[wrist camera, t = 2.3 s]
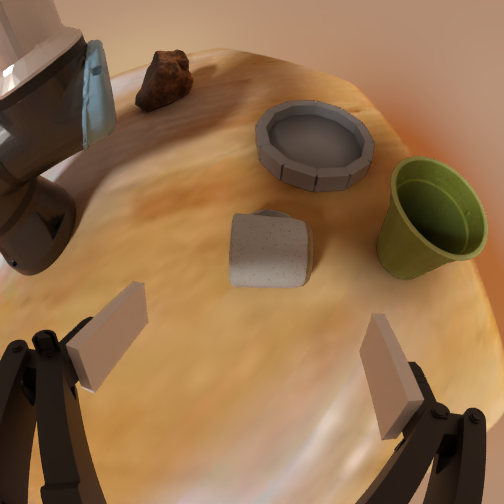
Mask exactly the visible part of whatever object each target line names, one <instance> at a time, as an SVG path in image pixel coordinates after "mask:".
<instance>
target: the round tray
mask: <svg viewBox="0 0 504 504" xmlns="http://www.w3.org/2000/svg"><path fill="white" fill-rule="evenodd" d="M255 133H256V146H257V151H258V156H259V161H260V163H261V164H262V165H264V166H265V167H266V168H267V169H268V170H269V171H270V172H271V173H272V174H273V175H274V176H275V177H276V178H278V179H279V180H282V182H284V183H287V184H290V185H293V186H296V187H299V188H302V189H305V190H308V191H311V192H312V191H315V192H326V191H341V190H345V189H348V188H349V187H351V186H352V185H354V184H355V183H357V182H358V181H359V180H361V179H362V178H364V177H365V175H366V174H367V171H368V169H369V167H370V164H371V162H372V157H373V151H374V146H375V143H374V140H373V138H372V137H371V135H370V133H369V131H368V130H367V128H366V126H365V124H363V122H361V121H360V120H359V119H357V118H356V117H354V116H353V115H351V114H350V113H349V112H347V111H346V110H344V109H342V110H341V108H340V107H337V106H333V105H330V104H327V103H323V102H320V101H316V102H315V100H300V101H290V102H289V101H287V102H284V103H282V104H279V105H277V106H275V107H272V108H270V109H268V111H267V110H266V111H265V113H264V114H263V116H262V117H261V118H260V120H259V121H258V123H257V124H256V127H255Z"/></svg>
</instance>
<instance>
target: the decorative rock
mask: <svg viewBox="0 0 504 504" xmlns="http://www.w3.org/2000/svg"><path fill="white" fill-rule="evenodd" d="M192 84H193V78H192V77H191V73H190V72H189V60H188V59H187V57H186V55H185V53H184V52H183V51H180V50H175V51H156V52H155V54H154V57H153V60H152V62H151V65H150V66H149V67H148V69H147V71H146V75H145V78H144V81H143V84H142V87H141V90H139V92H138V93H137V95H136V101H135V105H136V106H138V107H139V108H141V109H142V110H144V111H145V112H148V111H151V110H152V109H154V108H158V107H160V106H163V105H166V104H170V103H172V102H173V101H174V100H176V99H177V98H179V97H182V96H184V95H186V94H188V93H189V92H190V90H191V88H192Z"/></svg>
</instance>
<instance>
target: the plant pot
mask: <svg viewBox="0 0 504 504" xmlns="http://www.w3.org/2000/svg"><path fill="white" fill-rule="evenodd" d="M487 235H488V224H487V218H486V214H485V211H484V208H483V206H482V203H481V201H480V199H479V198H478V196H477V194H476V193H475V191H474V189H473V188H472V187H471V186H470V184H469V183H468V182H467V181H466V180H465V179H464V178H463V177H462V176H461V175H460V174H459V173H458V172H456V171H455V170H454V169H452V168H451V167H449V166H448V165H446V164H444V163H442V162H440V161H438V160H435V159H432V158H428V157H423V156H417V157H409V158H406V159H404V160H402V161H401V162H399V163H398V164H397V165H396V167H395V169H394V170H393V173H392V177H391V198H390V206H389V209H388V212H387V215H386V218H385V221H384V224H383V226H382V229H381V232H380V235H379V238H378V241H377V254H378V258H379V260H380V262H381V264H382V266H383V267H384V268H385V269H387V270H388V271H389V272H390V273H391V274H392V275H393V276H394V277H397V278H399V279H404V280H409V279H413V278H416V277H418V276H420V275H423V274H425V273H427V272H429V271H431V270H433V269H435V268H438V267H440V266H442V265H444V264H446V263H450V262H454V261H456V260H459V261H463V260H469V259H472V258H474V257H476V256H477V255H478V254H479V253H480V252H481V251H482V250H483V248H484V246H485V243H486V241H487Z"/></svg>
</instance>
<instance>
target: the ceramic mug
mask: <svg viewBox="0 0 504 504" xmlns="http://www.w3.org/2000/svg"><path fill="white" fill-rule="evenodd" d="M313 258H314V240H313V233H312V229H311V227H310V225H309V224H308V223H307V222H305V221H302V220H298V219H294V218H292V217H291V216H289V215H288V214H286V213H284V212H281V211H277V210H270V209H265V210H258V211H255V212H253V213H251V214H235V215H234V216H233V220H232V228H231V239H230V252H229V275H230V284H231V286H233V287H258V288H294V287H301V286H304V285H305V284H306V283H307V282H308V281H309V279H310V276H311V272H312V267H313Z"/></svg>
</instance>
